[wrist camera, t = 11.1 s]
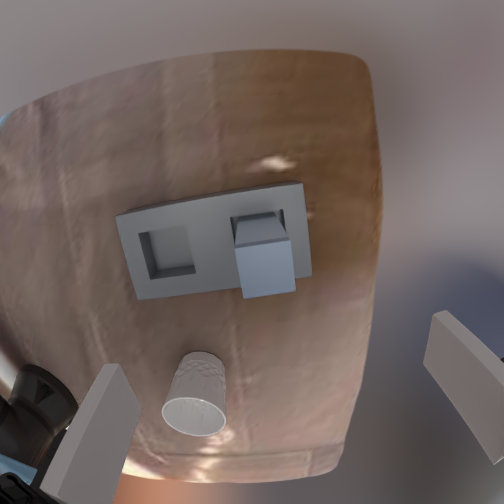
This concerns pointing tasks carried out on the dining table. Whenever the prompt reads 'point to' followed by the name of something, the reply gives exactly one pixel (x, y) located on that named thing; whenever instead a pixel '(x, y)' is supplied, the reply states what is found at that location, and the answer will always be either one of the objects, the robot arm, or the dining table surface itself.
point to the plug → (263, 256)
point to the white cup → (197, 396)
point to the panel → (206, 238)
